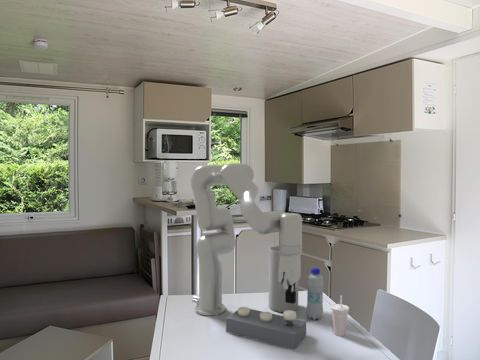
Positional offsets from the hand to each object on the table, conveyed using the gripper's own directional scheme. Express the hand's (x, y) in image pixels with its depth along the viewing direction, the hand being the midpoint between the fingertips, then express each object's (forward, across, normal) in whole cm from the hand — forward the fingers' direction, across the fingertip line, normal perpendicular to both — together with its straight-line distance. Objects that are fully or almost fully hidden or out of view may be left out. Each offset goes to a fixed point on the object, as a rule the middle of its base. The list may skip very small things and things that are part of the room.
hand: (290, 302), depth 128 cm
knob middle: (+12, 0, -9) cm, 15 cm away
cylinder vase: (+13, -26, -13) cm, 32 cm away
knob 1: (+12, 0, -18) cm, 22 cm away
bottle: (+13, -22, +2) cm, 26 cm away
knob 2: (+10, 0, 0) cm, 10 cm away
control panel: (+13, 0, -9) cm, 16 cm away
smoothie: (+13, -13, +14) cm, 23 cm away
